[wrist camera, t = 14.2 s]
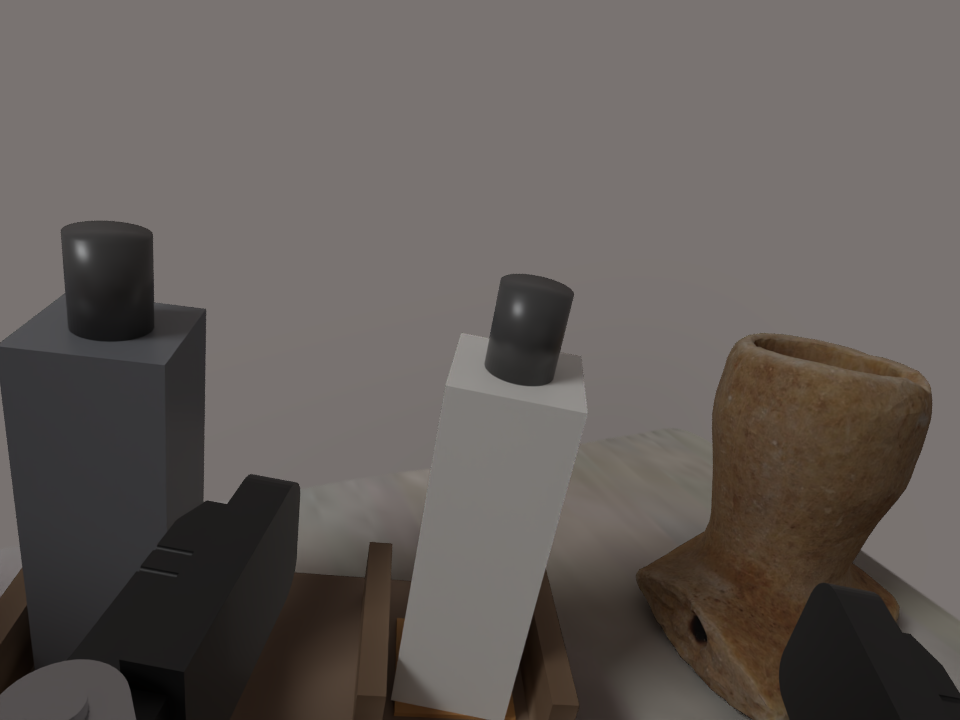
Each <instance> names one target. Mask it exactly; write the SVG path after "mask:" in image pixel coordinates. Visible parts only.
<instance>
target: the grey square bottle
mask: <svg viewBox="0 0 960 720" xmlns="http://www.w3.org/2000/svg"><path fill="white" fill-rule="evenodd" d="M61 240H62V253H63V268H64V280H65V294H63V295H62V296H61V297H59V298H58V299H57V300H55V301H54V302H53V303H52V304H50V305H49V306H48V307H46V308H45V309H44V310H42V311H41V312H40V313H38V314H37V315H36V316H34V317H33V318H32V319H31V320H29V321H28V322H27V323H25V324H24V325H23V326H21V327H20V328H19V329H18V330H16V331H15V332H13V333H12V334H11V335H10V336H8V337H7V338H6V339H4V340H3V341H2V342H0V386H1V394H2V403H3V411H4V419H5V427H6V436H7V444H8V452H9V460H10V468H11V477H12V485H13V493H14V501H15V509H16V518H17V526H18V535H19V543H20V551H21V559H22V568H23V576H24V584H25V592H26V601H27V609H28V617H29V625H30V634H31V642H32V650H33V658H34V667H35V670H37V669H40V668H42V667H45V666H48V665H51V664H54V663H58V662H62V661H66V660H67V659H68V658H69V657H70V655H71V654H72V653H73V652H74V651H75V649H76V648H77V647H78V646H79V644H80V643H81V642H82V640H83V639H84V638H85V637H86V635H87V634H88V633H89V631H90V630H91V629H92V628H93V626H94V625H95V624H96V622H97V621H98V620H99V619H100V617H101V616H102V615H103V613H104V612H105V611H106V610H107V608H108V607H109V606H110V604H111V603H112V602H113V601H114V599H115V598H116V597H117V595H118V594H119V593H120V592H121V590H122V589H123V588H124V586H125V585H126V584H127V583H128V581H129V580H130V579H131V577H132V576H133V575H134V574H135V572H136V571H138V572H139V570H140V567H141V565H142V563H143V562H144V561H145V560H146V558H147V557H148V556H149V554H150V553H151V552H152V551H153V550H156V548H157V544H158V543H159V542H160V540H161V539H162V538H163V536H164V535H165V534H166V533H167V531H168V530H169V529H170V527H171V526H172V525H173V524H174V522H175V521H176V520H177V519H178V518H180V517H181V516H183V515H185V514H186V513H188V512H189V511H191V510H193V509H194V508H196V507H197V506H199V505H201V504H202V503H203V491H204V490H203V489H204V423H205V422H204V421H205V420H204V419H205V354H206V353H205V352H206V349H205V348H206V309H201V308H194V307H185V306H178V305H170V304H162V303H154V275H153V274H154V273H153V234H152V232H151V231H150V230H148V229H146V228H144V227H141V226H138V225H134V224H129V223H123V222H115V221H85V222H77V223H73V224H69V225H67V226H65V227H63V228H62V229H61Z"/></svg>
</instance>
